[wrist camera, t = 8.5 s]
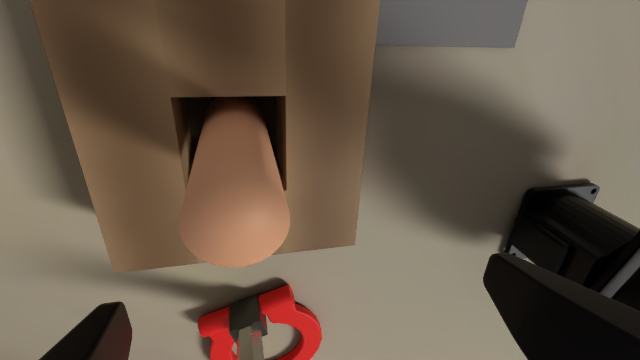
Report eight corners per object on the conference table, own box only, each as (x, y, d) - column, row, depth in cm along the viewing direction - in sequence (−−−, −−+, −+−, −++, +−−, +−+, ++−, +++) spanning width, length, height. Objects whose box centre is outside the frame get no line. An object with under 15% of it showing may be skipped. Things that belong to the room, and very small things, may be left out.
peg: (262, 91, 18) (290, 172, 9) (264, 145, 19) (290, 260, 10) (202, 92, 17) (169, 180, 8) (209, 147, 18) (186, 273, 10)
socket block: (349, 0, 17) (380, -2, 13) (335, 207, 22) (354, 244, 18) (75, -14, 14) (22, -21, 10) (135, 225, 19) (114, 273, 16)
